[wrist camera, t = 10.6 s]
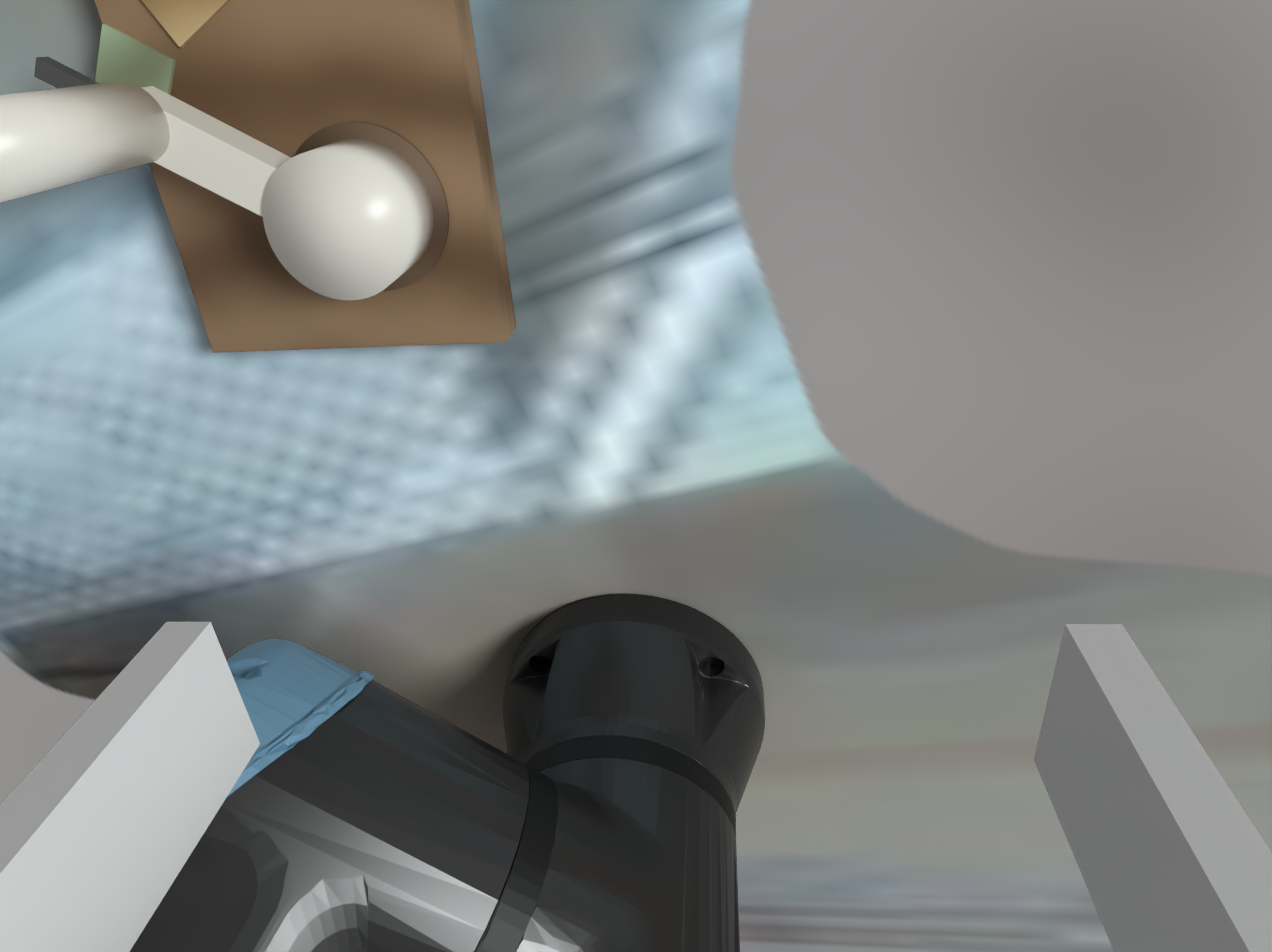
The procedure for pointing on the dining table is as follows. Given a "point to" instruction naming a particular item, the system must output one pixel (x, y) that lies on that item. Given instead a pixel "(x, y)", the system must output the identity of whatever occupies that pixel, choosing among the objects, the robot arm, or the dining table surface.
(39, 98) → the peg
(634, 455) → the dining table surface
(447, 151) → the board
